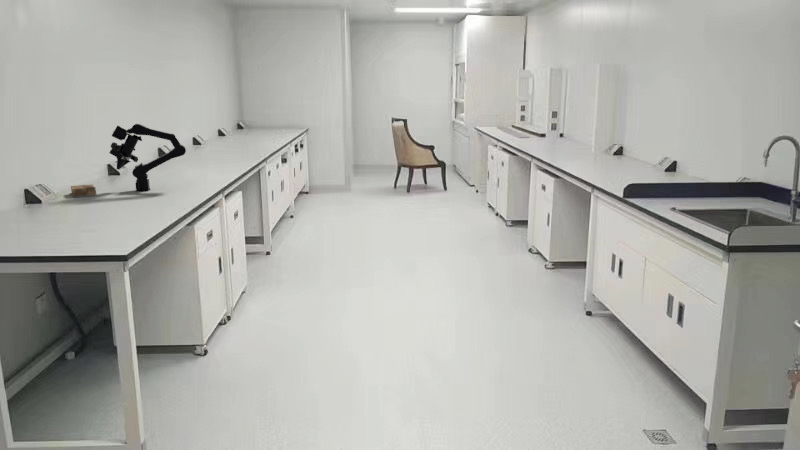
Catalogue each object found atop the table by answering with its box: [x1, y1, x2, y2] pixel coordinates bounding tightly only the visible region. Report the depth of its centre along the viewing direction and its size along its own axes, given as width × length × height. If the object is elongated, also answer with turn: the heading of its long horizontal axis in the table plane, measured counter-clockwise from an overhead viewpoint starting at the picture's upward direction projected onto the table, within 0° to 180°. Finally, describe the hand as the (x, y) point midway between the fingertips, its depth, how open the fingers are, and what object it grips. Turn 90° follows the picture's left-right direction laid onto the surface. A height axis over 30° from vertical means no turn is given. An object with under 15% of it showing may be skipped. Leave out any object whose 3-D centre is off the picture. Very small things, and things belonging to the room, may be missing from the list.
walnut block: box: [70, 184, 97, 197], centre depth 339 cm, size 4×12×11 cm
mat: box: [69, 192, 96, 198], centre depth 339 cm, size 11×14×1 cm
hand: (117, 169), depth 349 cm, fingers closed
